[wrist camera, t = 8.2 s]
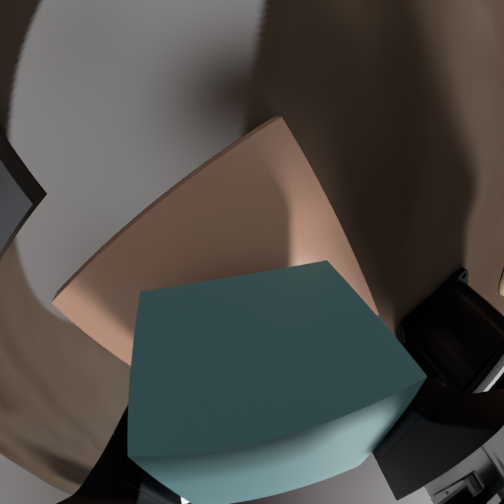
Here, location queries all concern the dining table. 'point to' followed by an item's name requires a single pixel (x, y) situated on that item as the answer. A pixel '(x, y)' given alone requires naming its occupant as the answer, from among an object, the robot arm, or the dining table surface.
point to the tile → (213, 235)
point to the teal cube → (261, 383)
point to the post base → (15, 193)
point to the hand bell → (501, 285)
